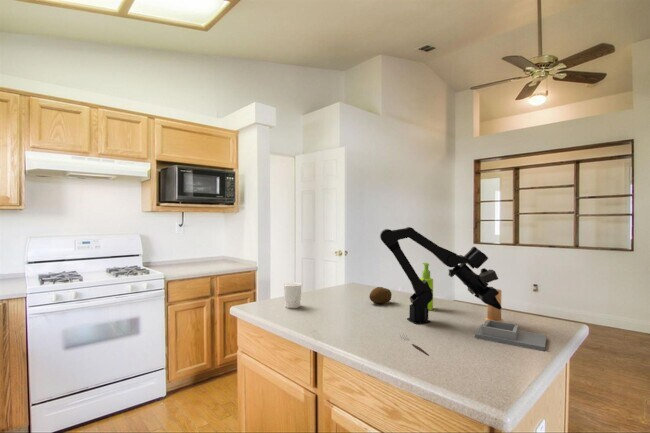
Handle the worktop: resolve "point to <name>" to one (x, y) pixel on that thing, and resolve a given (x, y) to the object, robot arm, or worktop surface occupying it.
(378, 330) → the worktop surface
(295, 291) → the white cup
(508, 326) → the housing
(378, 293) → the potato
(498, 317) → the orange knob handle
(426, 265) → the soap dispenser
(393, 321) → the worktop surface
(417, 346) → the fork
